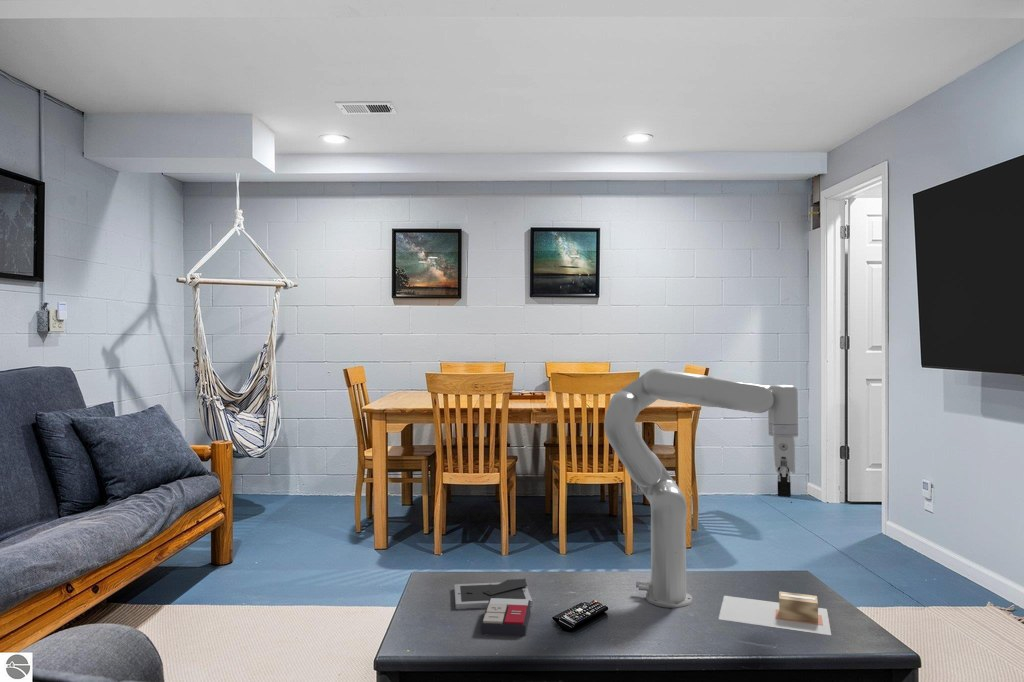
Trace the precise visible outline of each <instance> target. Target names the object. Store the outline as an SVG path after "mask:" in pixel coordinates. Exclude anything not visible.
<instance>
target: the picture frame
mask: <svg viewBox="0 0 1024 682" xmlns="http://www.w3.org/2000/svg"><path fill="white" fill-rule="evenodd" d="M491 598H503V599H528V600H530V605H532V606H533V599H532V597H531V594H530V591H529V589H528V584H527V581H526V579H525V578H517V579H515V578H514V579H506V580H504V581H502V582H484V583H483V582H480V583H475V582H474V583H456V584H455V583H454V602H455V610H456V609H458V610H467V609H466V608H481V609H486V608H487V605H488V602H489V599H491Z"/></svg>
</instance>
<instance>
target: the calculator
mask: <svg viewBox="0 0 1024 682" xmlns="http://www.w3.org/2000/svg"><path fill="white" fill-rule="evenodd" d="M530 617H531V606H530V600H528V599H503V598H491V599H489V602H488V605H487V608H485V610H484V614H483V617H482V619H481V623H480V635H484V634H488V636H506V635H511V637H526V636H527V631H528V625H529V621H530Z"/></svg>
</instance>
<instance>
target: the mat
mask: <svg viewBox="0 0 1024 682" xmlns="http://www.w3.org/2000/svg"><path fill="white" fill-rule="evenodd" d="M828 613H829V612H828V609H827V608H823V607H818V623H811V622H804V621H796V620H789V619H782V618H779V601H778V602H776V601H769V600H760V599H755V598H754V599H753V598H745V597H737V596H730V595H723V599H722V603H721V607H720V611H719V615H718V620H719V621H720V620H721V621H725V622H726V621H727V622H734V623H742V624H747V625H755V626H763V627H769V628H775V629H776V628H777V629H783V630H791V631H798V632H805V633H812V634H819V635H825V636H832V632H831V624H830V619H829V615H828Z"/></svg>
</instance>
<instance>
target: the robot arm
mask: <svg viewBox="0 0 1024 682" xmlns="http://www.w3.org/2000/svg"><path fill="white" fill-rule="evenodd" d="M798 398H799V397H798V389H797V386H795V385H790V384H773V385H764V384H757V383H756V384H755V383H746V382H738V381H733V380H727V379H721V378H717V377H714V376H709V375H704V374H697V373H690V372H689V373H688V372H684V371H683V372H682V371H677V370H668V369H663V368H662V369H661V368H652V369H649V370H648V371H646V372H645V373H643V374H642V375H641V376H639V377H638V378H636V379H635V380H634V381H632V382H631V383H629V384H627V385H626V386H625V387H623V388H622V389H620V390H619V391H617V392H615V394H613V396H611V398H610V400H609V404H608V406H607V410H606V412H605V416H604V420H603V421H604V423H603V425H604V426H603V427H604V432H605V436H606V438H607V441H608V442H609V444H610V446H611V448H612V449H613V451H614V452H615V455H616V456H617V457H618V459H619V460H620V462H621V463H622V465H623V466H624V468H625V469H626V471H627V473H628V475H629V477H630V478H631V480H632V481H633V482H634V483H635V484H636V485H637V486H638V487H639V489H640V491H641V493H642V494H643V495H644V496H645V498H646V499H647V501H648V503H649V504H650V571H651V572H650V578H651V580H647V581H643V580H636V582H635V587H636V588H638V591H646V592H645V599H646V601H647V602H648V603H649V604H651V605H654V606H656V607H660V608H661V607H662V608H668V609H673V608H682V607H687V606H689V605H691V604H692V603H693V596H692V595H691V594H690V593H688V591H687V515H688V514H687V513H688V507H687V501H686V498H685V495H684V493H683V491H682V490H681V489H680V487H679V486H678V484H677V483H676V482H675V480H674V479H673V478H672V476H671V474H670V473H669V472H668V470H667V469H666V467H665V466H664V465H663V463H662V461H661V460H660V459H659V457H658V456H657V454H656V453H654V451H652V450H651V449H650V448H649V446H648V444H647V443H646V442H645V440H644V439H643V437H642V436H641V435H640V433H639V431H638V430H637V427H636V419H637V417H638V416H639V414H640V412H642V410H644V409H646V408H648V407H650V405H652V404H654V403H655V402H656V401H657V400H661V401H666V402H667V401H668V402H676V403H680V404H689V405H694V406H701V407H708V408H721V409H727V410H733V411H740V412H748V413H752V414H753V413H755V414H763V413H768V414H767V415H768V417H767V418H768V420H767V421H768V425H767V426H768V436H770V437H773V461H774V467H775V468H774V469H775V472H776V473H777V496H778V497H781V498H791V496H792V493H791V485H792V484H791V483H792V481H791V474H790V473H792V474H793V475H794V474H795V473H796V447H795V446H796V445H795V438H797V437H799V405H798V403H799V399H798Z"/></svg>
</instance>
